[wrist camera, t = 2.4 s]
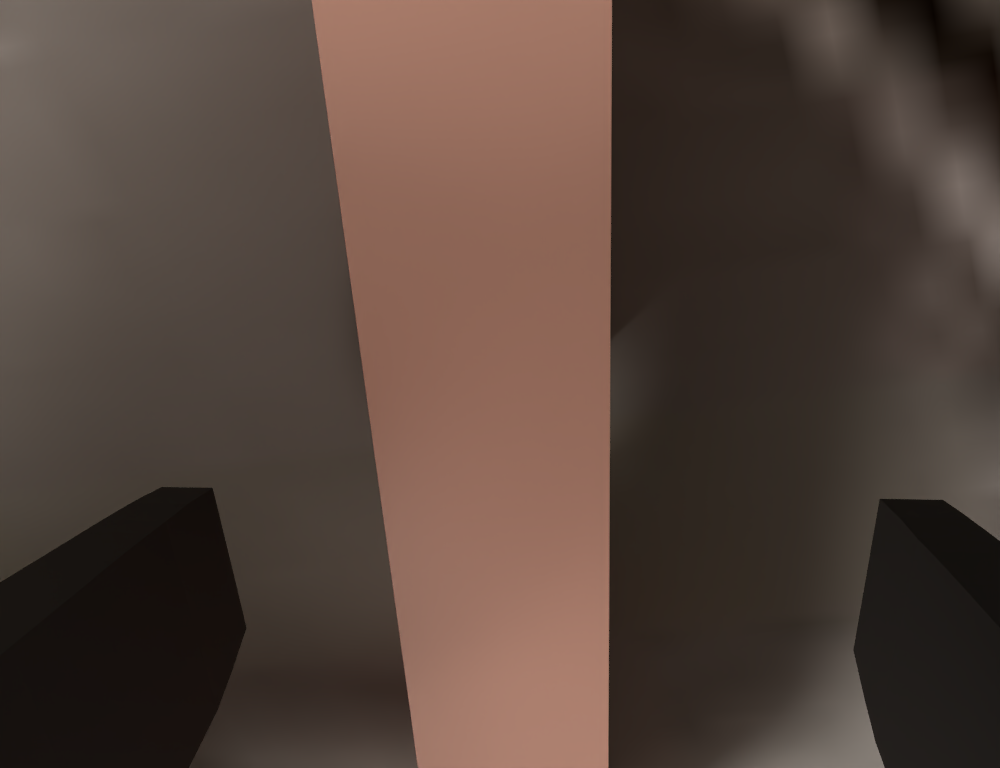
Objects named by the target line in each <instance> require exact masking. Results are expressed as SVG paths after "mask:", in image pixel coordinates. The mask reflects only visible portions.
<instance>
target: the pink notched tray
mask: <svg viewBox="0 0 1000 768" xmlns="http://www.w3.org/2000/svg"><path fill="white" fill-rule="evenodd" d="M312 6H313V13H314V20H315V27H316V35H317V42H318V49H319V56H320V64H321V71H322V78H323V85H324V92H325V100H326V107H327V114H328V121H329V129H330V136H331V143H332V150H333V157H334V165H335V172H336V179H337V186H338V194H339V201H340V208H341V215H342V222H343V230H344V237H345V244H346V251H347V259H348V266H349V273H350V280H351V287H352V295H353V302H354V309H355V316H356V323H357V331H358V338H359V345H360V352H361V360H362V367H363V374H364V381H365V388H366V396H367V403H368V410H369V417H370V425H371V432H372V439H373V446H374V453H375V461H376V468H377V475H378V482H379V490H380V497H381V504H382V511H383V518H384V526H385V533H386V540H387V547H388V555H389V562H390V569H391V576H392V583H393V591H394V598H395V605H396V612H397V619H398V627H399V634H400V641H401V648H402V656H403V663H404V670H405V677H406V684H407V692H408V699H409V706H410V713H411V721H412V728H413V735H414V742H415V749H416V757H417V764H418V768H608V735H609V525H610V315H611V105H612V0H312Z"/></svg>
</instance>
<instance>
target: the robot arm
mask: <svg viewBox="0 0 1000 768" xmlns="http://www.w3.org/2000/svg"><path fill="white" fill-rule="evenodd" d="M245 630H246V624H245V620H244V616H243V612H242V608H241V603H240V599H239V595H238V591H237V587H236V583H235V579H234V574H233V570H232V566H231V562H230V558H229V554H228V550H227V546H226V541H225V537H224V533H223V529H222V525H221V521H220V517H219V513H218V508H217V504H216V500H215V496H214V492H213V488H179V487H161V488H159V489H157V490H155V491H153V492H151V493H149V494H147V495H145V496H143V497H141V498H140V499H138V500H136V501H134V502H132V503H131V504H129V505H127V506H125V507H124V508H122V509H120V510H118V511H117V512H115V513H113V514H112V515H110V516H108V517H107V518H105V519H103V520H102V521H100V522H98V523H97V524H95V525H93V526H92V527H90V528H89V529H87V530H85V531H84V532H82V533H80V534H79V535H77V536H75V537H74V538H72V539H71V540H69V541H67V542H66V543H64V544H62V545H61V546H59V547H58V548H56V549H54V550H53V551H51V552H49V553H48V554H46V555H45V556H43V557H41V558H40V559H38V560H36V561H35V562H33V563H31V564H30V565H28V566H27V567H25V568H23V569H22V570H20V571H18V572H17V573H15V574H13V575H12V576H10V577H9V578H7V579H5V580H4V581H2V582H0V768H189V766H190V764H191V762H192V760H193V758H194V756H195V754H196V752H197V750H198V748H199V746H200V744H201V742H202V740H203V738H204V736H205V734H206V732H207V730H208V728H209V726H210V724H211V722H212V720H213V718H214V716H215V714H216V712H217V710H218V707H219V704H220V701H221V699H222V696H223V693H224V691H225V688H226V685H227V683H228V680H229V677H230V675H231V672H232V669H233V666H234V663H235V660H236V657H237V654H238V651H239V648H240V645H241V642H242V639H243V636H244V633H245ZM854 654H855V658H856V663H857V667H858V672H859V676H860V680H861V685H862V689H863V693H864V698H865V702H866V706H867V710H868V714H869V718H870V722H871V726H872V729H873V733H874V737H875V741H876V744H877V747H878V750H879V753H880V755H881V758H882V761H883V764H884V766H885V768H1000V541H999V540H997V539H996V538H995V537H994V536H992V535H991V534H990V533H988V532H987V531H986V530H984V529H983V528H982V527H980V526H979V525H978V524H976V523H975V522H973V521H972V520H971V519H969V518H968V517H967V516H965V515H964V514H962V513H961V512H960V511H958V510H957V509H955V508H954V507H952V506H951V505H949V504H948V503H946V502H945V501H943V500H911V499H880V501H879V507H878V513H877V518H876V524H875V530H874V536H873V541H872V547H871V553H870V559H869V564H868V570H867V576H866V582H865V587H864V593H863V599H862V605H861V610H860V616H859V622H858V628H857V633H856V639H855V645H854Z"/></svg>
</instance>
